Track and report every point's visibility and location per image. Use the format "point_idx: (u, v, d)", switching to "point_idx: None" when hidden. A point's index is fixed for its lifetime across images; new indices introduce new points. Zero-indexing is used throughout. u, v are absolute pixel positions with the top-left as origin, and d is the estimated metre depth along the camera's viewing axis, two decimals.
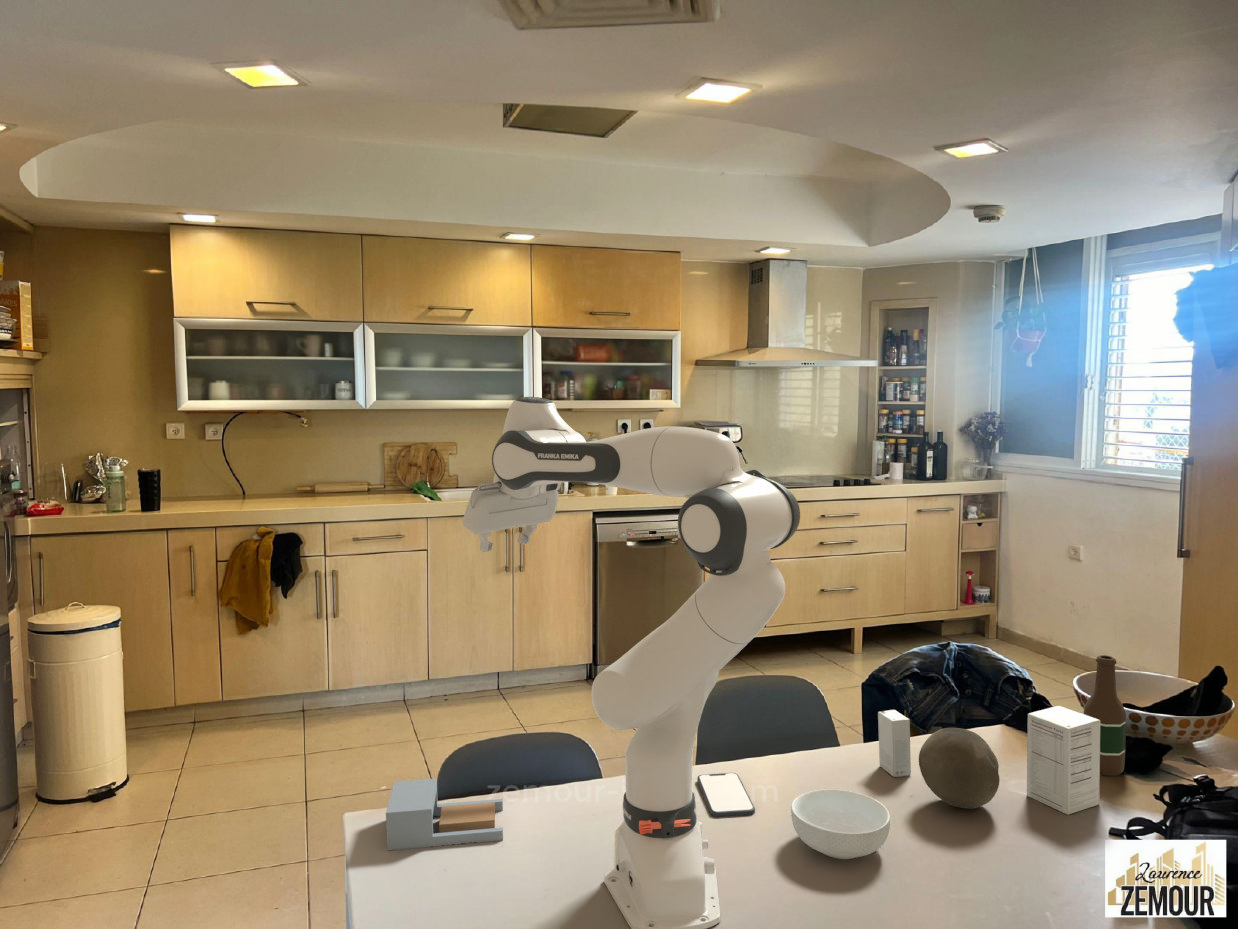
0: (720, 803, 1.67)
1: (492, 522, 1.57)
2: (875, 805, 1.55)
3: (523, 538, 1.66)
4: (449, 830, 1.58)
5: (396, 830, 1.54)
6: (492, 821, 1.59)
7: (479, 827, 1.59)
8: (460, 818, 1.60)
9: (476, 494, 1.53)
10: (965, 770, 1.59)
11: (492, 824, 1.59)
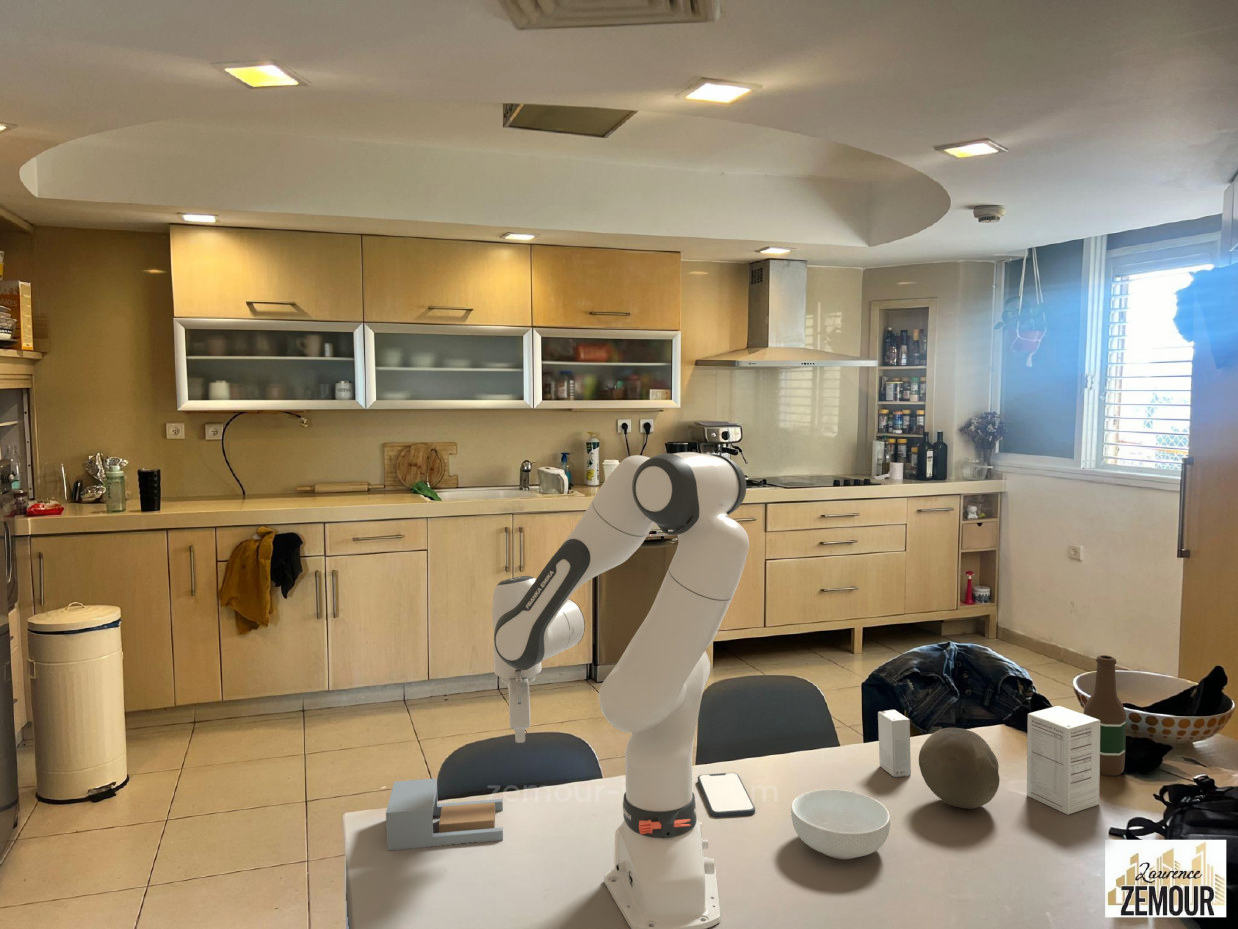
0: (720, 803, 1.67)
1: None
2: (875, 805, 1.55)
3: None
4: (449, 830, 1.58)
5: (396, 830, 1.54)
6: (492, 821, 1.59)
7: (478, 827, 1.59)
8: (460, 818, 1.60)
9: (521, 688, 1.51)
10: (965, 770, 1.59)
11: (492, 824, 1.59)
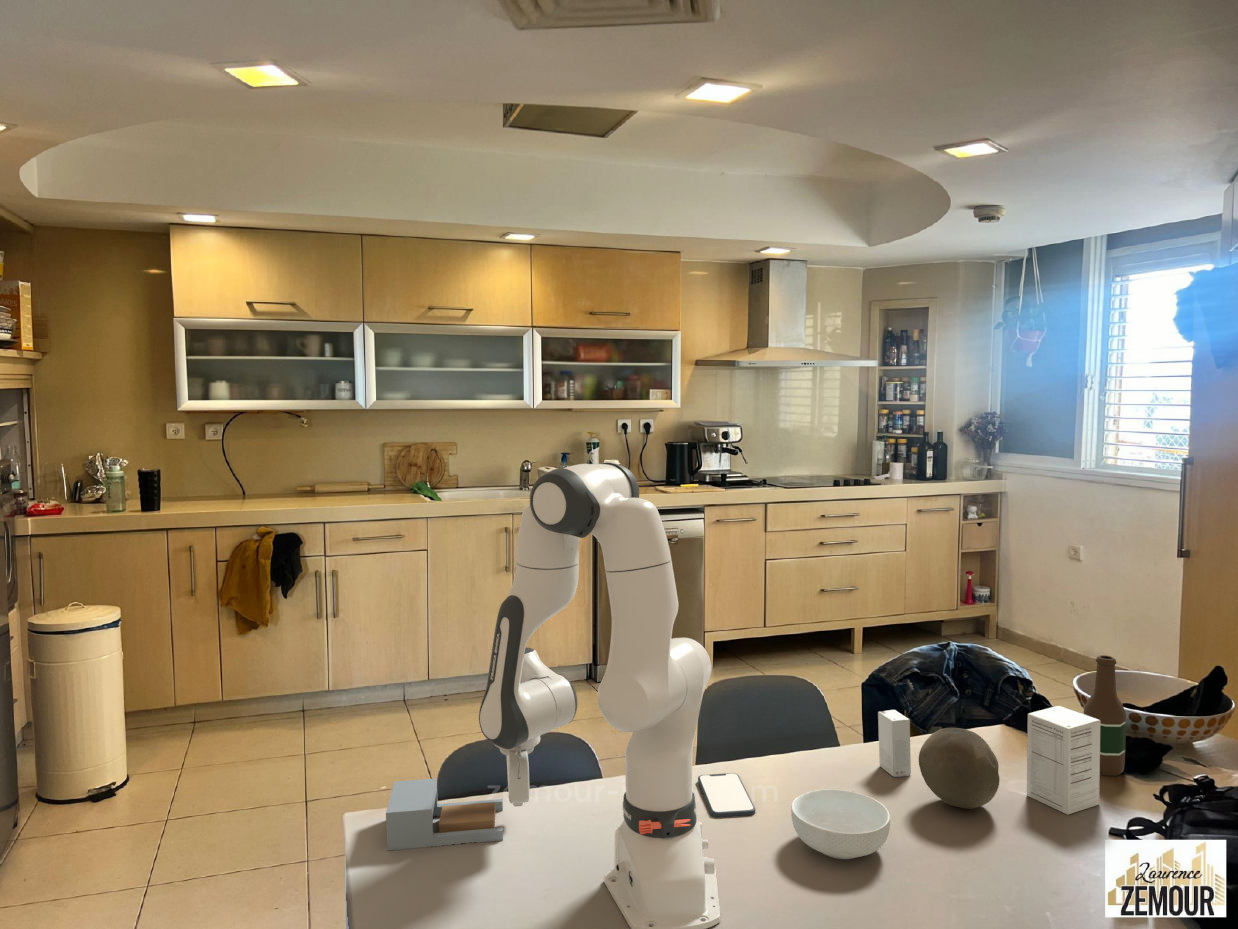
0: (721, 804, 1.67)
1: None
2: (875, 805, 1.55)
3: None
4: (448, 830, 1.58)
5: (396, 830, 1.54)
6: (491, 821, 1.59)
7: (478, 827, 1.59)
8: (459, 818, 1.60)
9: (521, 763, 1.52)
10: (965, 770, 1.59)
11: (491, 824, 1.59)
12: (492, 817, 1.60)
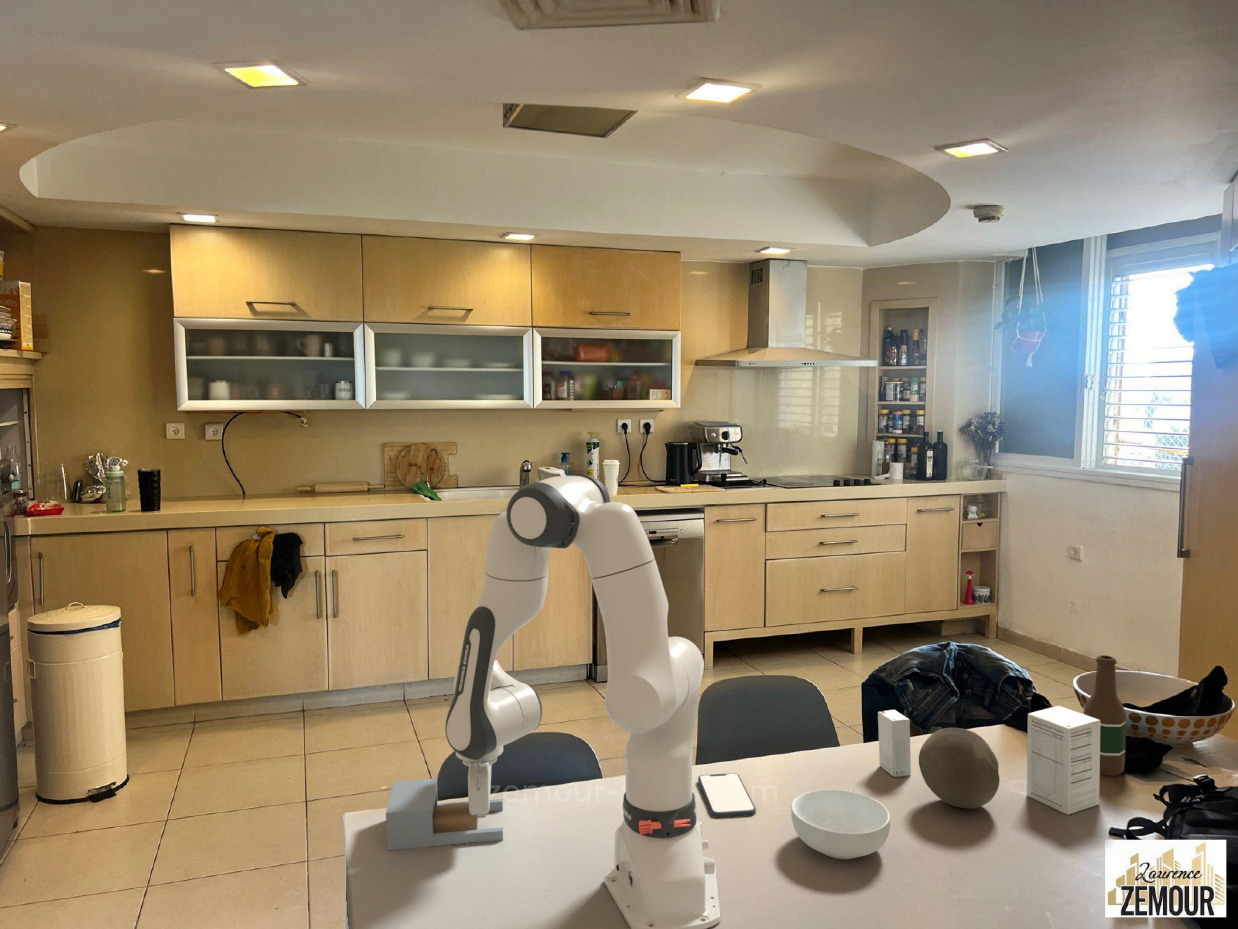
0: (721, 804, 1.67)
1: (489, 794, 1.56)
2: (875, 805, 1.55)
3: None
4: None
5: (396, 830, 1.54)
6: (474, 822, 1.59)
7: (461, 827, 1.58)
8: (442, 819, 1.60)
9: (480, 775, 1.52)
10: (965, 770, 1.59)
11: (474, 825, 1.59)
12: (475, 817, 1.60)
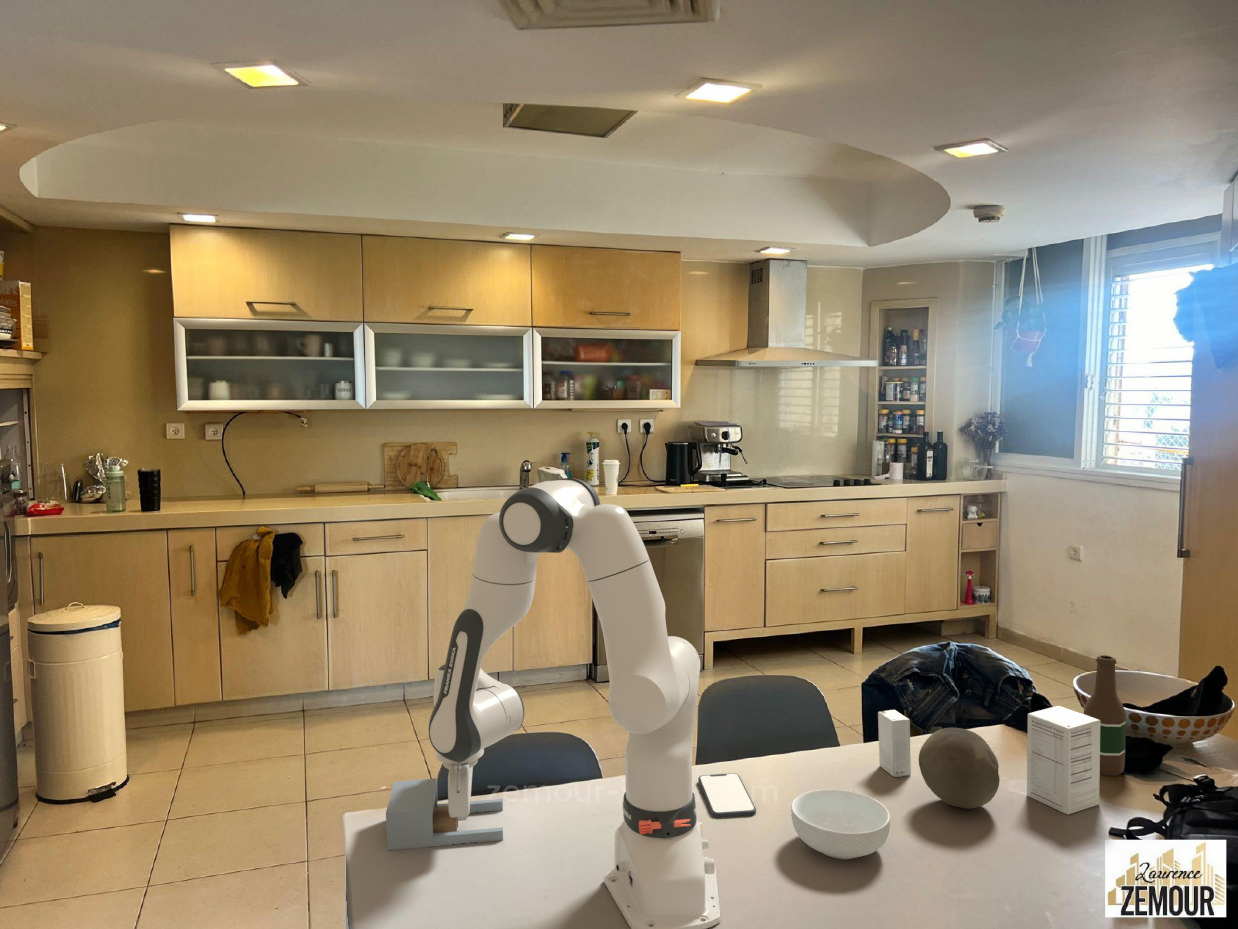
0: (721, 804, 1.67)
1: None
2: (875, 805, 1.55)
3: None
4: None
5: (396, 830, 1.54)
6: (454, 825, 1.58)
7: (441, 830, 1.58)
8: None
9: (459, 777, 1.51)
10: (965, 770, 1.59)
11: (454, 828, 1.58)
12: (455, 820, 1.59)
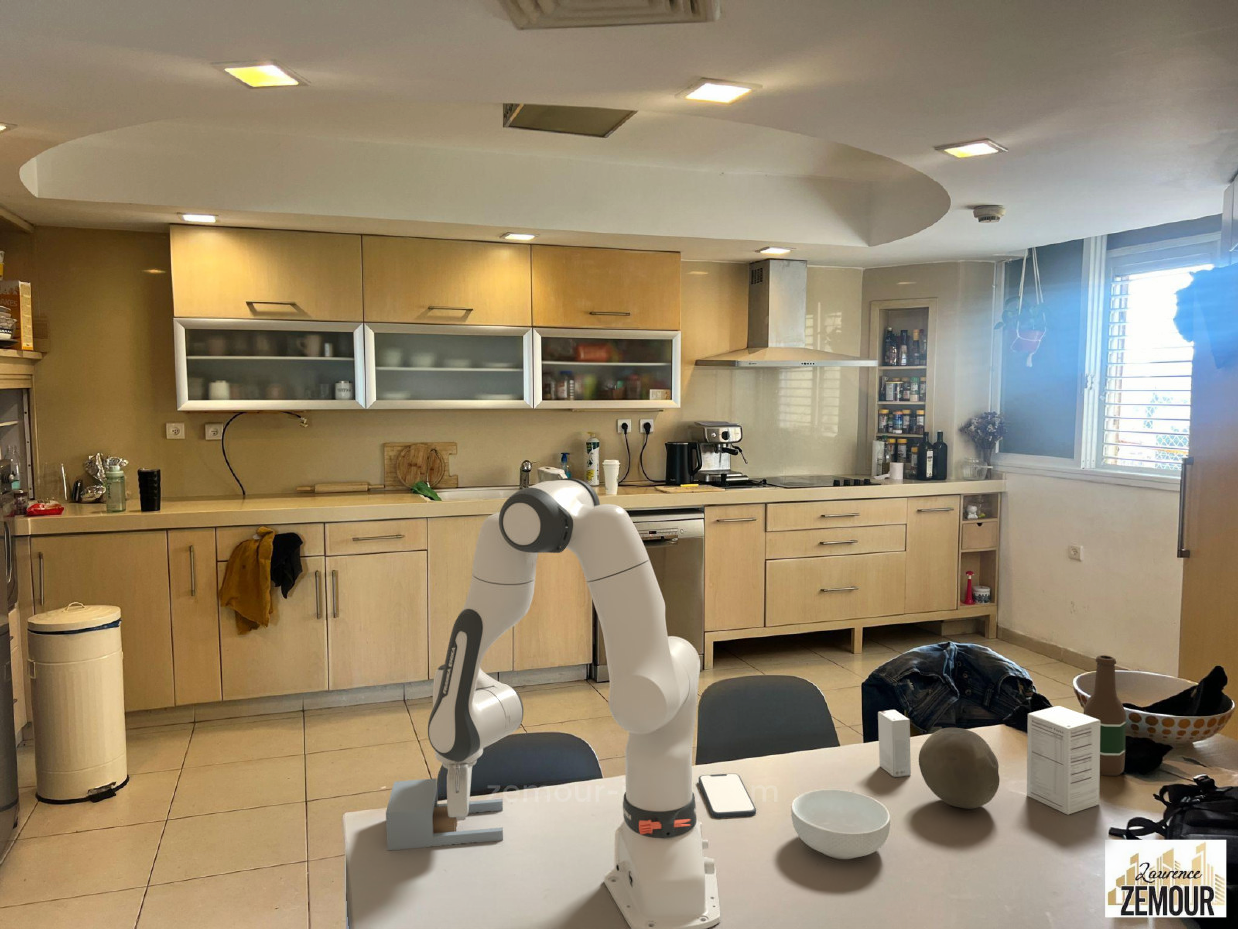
0: (721, 804, 1.67)
1: None
2: (875, 805, 1.55)
3: None
4: None
5: (396, 830, 1.54)
6: (452, 825, 1.58)
7: (439, 830, 1.58)
8: None
9: (458, 777, 1.51)
10: (965, 770, 1.59)
11: (452, 828, 1.58)
12: (453, 821, 1.59)
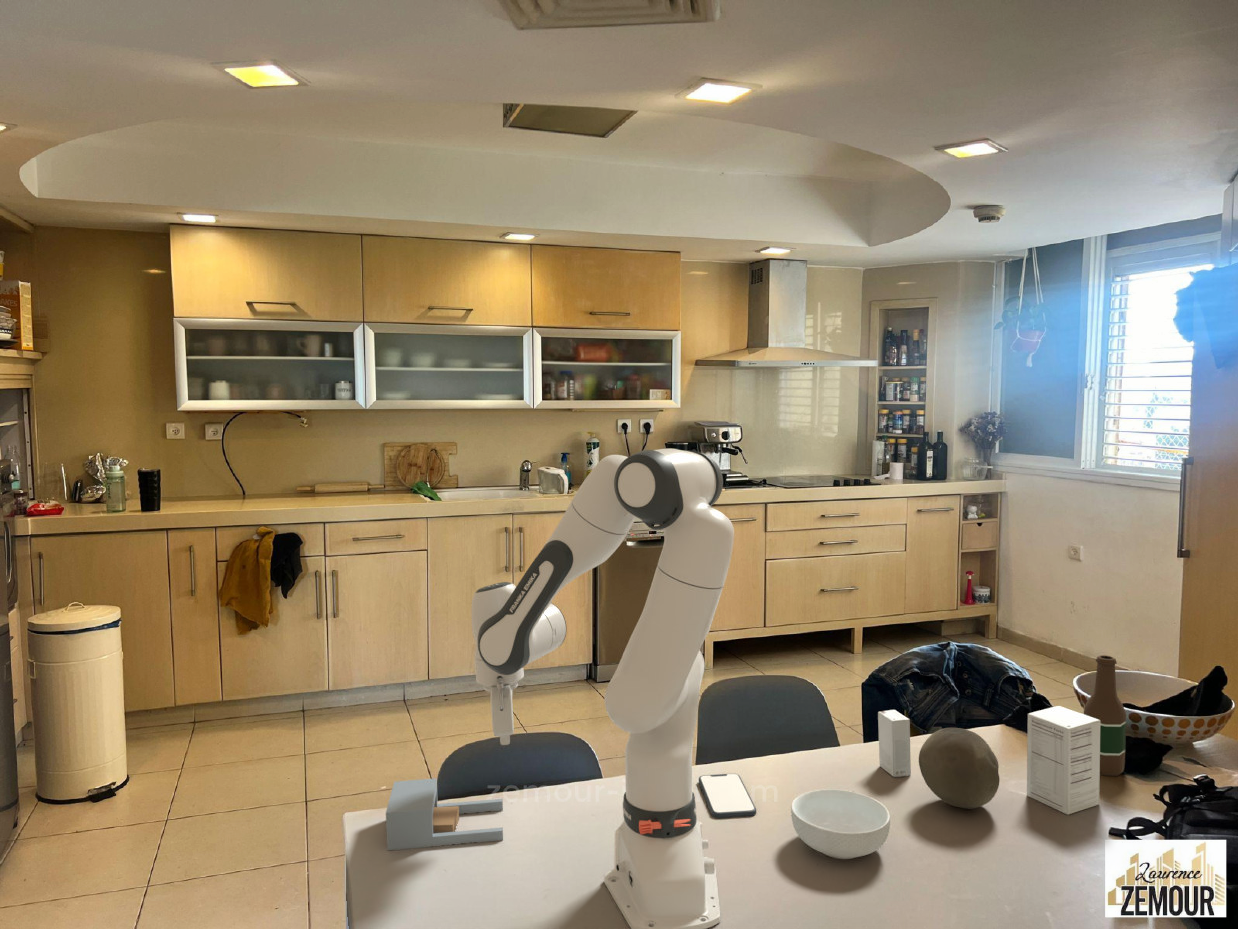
0: (722, 804, 1.67)
1: None
2: (875, 805, 1.55)
3: None
4: None
5: (396, 830, 1.54)
6: (450, 826, 1.58)
7: (437, 831, 1.58)
8: None
9: (502, 695, 1.51)
10: (965, 770, 1.59)
11: (450, 829, 1.58)
12: (452, 821, 1.59)
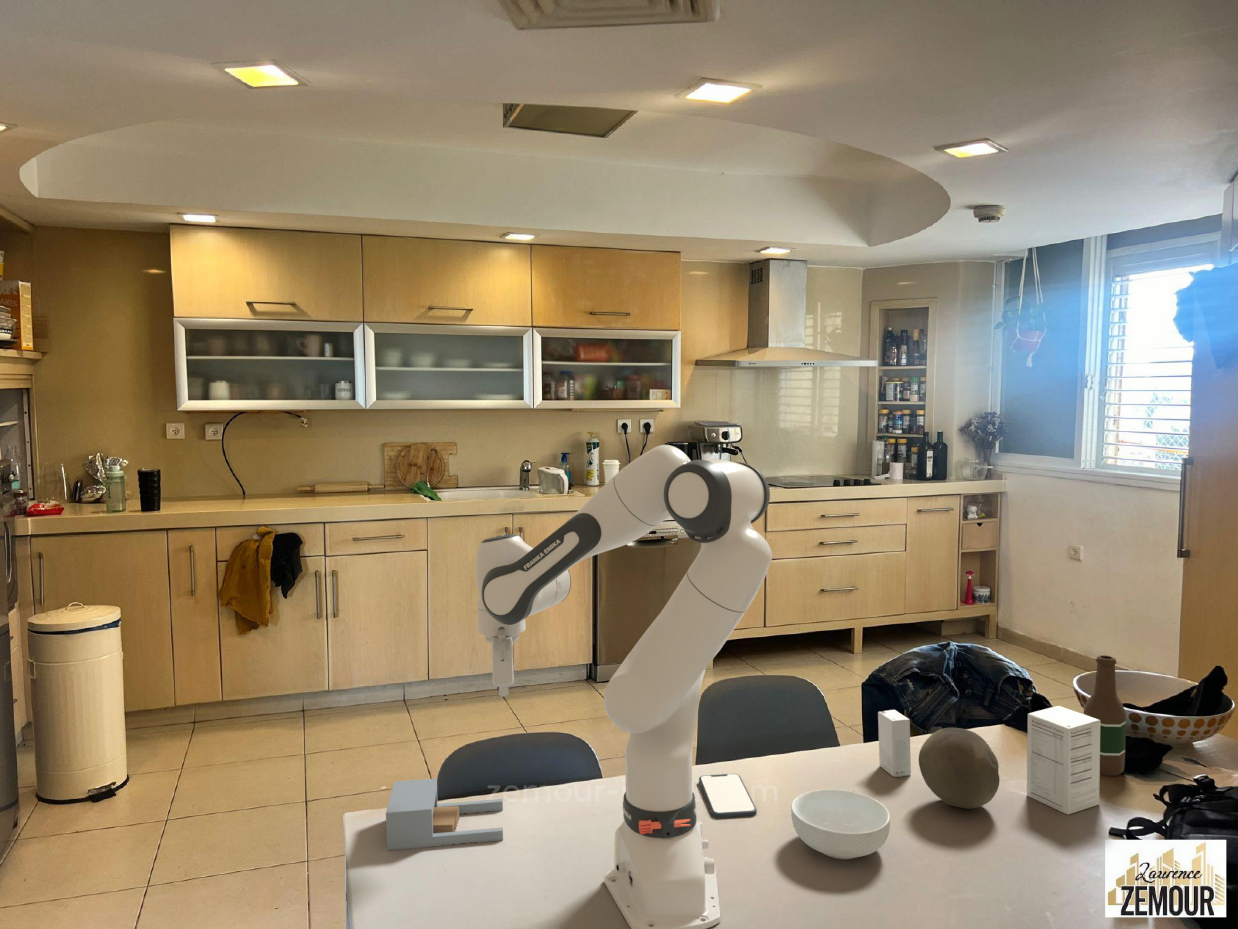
0: (722, 804, 1.67)
1: None
2: (875, 805, 1.55)
3: None
4: None
5: (396, 830, 1.54)
6: (450, 826, 1.58)
7: (437, 831, 1.58)
8: None
9: (504, 645, 1.50)
10: (965, 770, 1.59)
11: (450, 829, 1.58)
12: (452, 821, 1.59)
